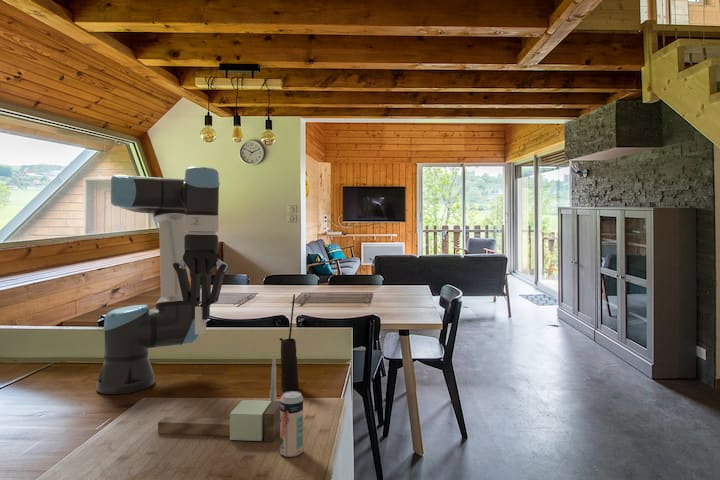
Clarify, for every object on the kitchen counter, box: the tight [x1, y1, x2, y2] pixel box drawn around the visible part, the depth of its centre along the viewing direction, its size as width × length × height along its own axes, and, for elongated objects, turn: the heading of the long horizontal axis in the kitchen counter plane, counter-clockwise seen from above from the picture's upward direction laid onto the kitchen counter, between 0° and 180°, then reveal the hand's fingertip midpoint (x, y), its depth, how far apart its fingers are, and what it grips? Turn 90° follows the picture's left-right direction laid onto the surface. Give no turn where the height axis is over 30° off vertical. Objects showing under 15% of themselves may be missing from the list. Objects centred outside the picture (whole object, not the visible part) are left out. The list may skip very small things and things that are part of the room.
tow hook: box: [264, 356, 282, 403], centre depth 113 cm, size 9×14×10 cm
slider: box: [229, 399, 272, 442], centre depth 97 cm, size 7×8×6 cm
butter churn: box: [279, 294, 300, 393], centre depth 126 cm, size 9×10×28 cm
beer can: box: [279, 390, 304, 458], centre depth 89 cm, size 5×5×12 cm
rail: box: [157, 402, 280, 443], centre depth 98 cm, size 27×7×6 cm, turn 86°
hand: (200, 332), depth 102 cm, fingers closed
